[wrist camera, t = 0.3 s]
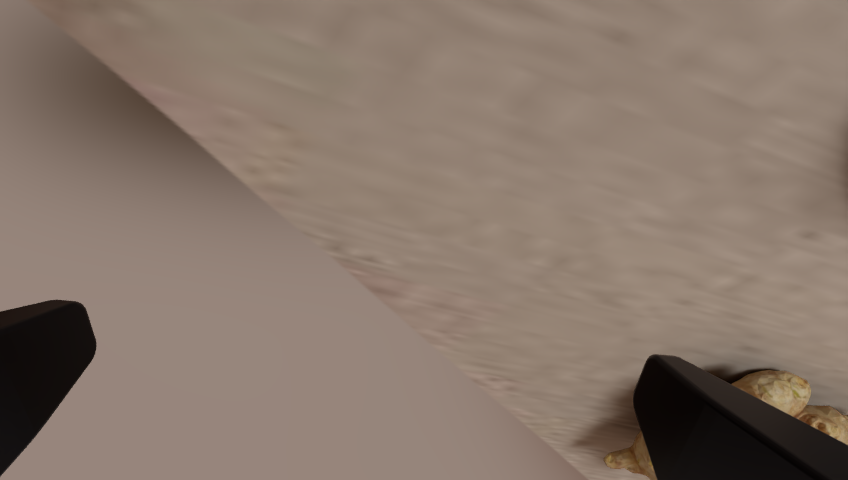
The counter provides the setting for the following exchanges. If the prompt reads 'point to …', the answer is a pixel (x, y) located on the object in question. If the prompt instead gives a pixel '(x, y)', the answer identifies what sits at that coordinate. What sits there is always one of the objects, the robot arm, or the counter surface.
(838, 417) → the ginger root
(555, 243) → the counter surface
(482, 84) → the counter surface
